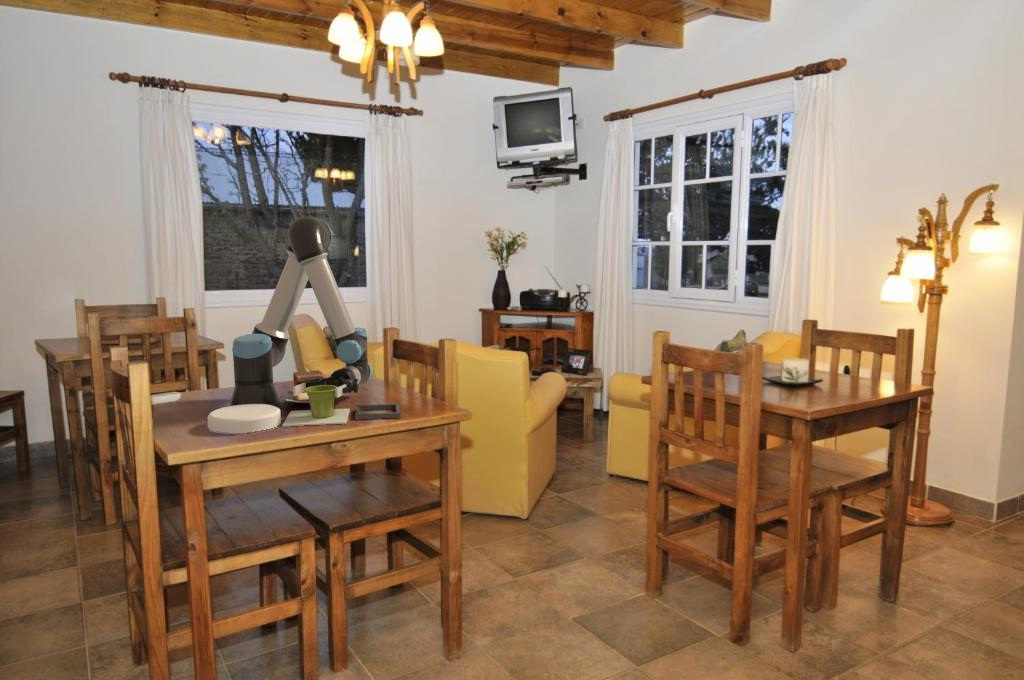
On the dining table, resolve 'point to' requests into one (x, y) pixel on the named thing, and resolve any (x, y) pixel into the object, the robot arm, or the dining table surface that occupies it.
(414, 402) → the dining table surface
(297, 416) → the sage mat
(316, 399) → the plant pot
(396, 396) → the dining table surface
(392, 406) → the pot collar
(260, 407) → the container
